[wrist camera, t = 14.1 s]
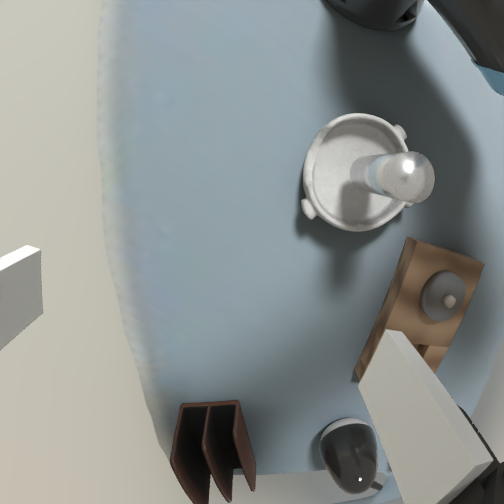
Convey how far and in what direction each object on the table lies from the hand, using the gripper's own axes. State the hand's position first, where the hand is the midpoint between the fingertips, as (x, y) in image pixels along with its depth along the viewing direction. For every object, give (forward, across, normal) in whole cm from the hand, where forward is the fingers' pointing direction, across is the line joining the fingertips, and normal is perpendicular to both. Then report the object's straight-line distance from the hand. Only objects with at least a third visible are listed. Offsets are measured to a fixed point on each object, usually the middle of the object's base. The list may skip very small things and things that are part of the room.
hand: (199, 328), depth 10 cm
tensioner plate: (+29, +30, -9) cm, 42 cm away
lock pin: (+24, +13, +8) cm, 28 cm away
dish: (+29, +13, +8) cm, 33 cm away
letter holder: (+29, +6, -41) cm, 50 cm away
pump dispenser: (+29, +27, -34) cm, 52 cm away
